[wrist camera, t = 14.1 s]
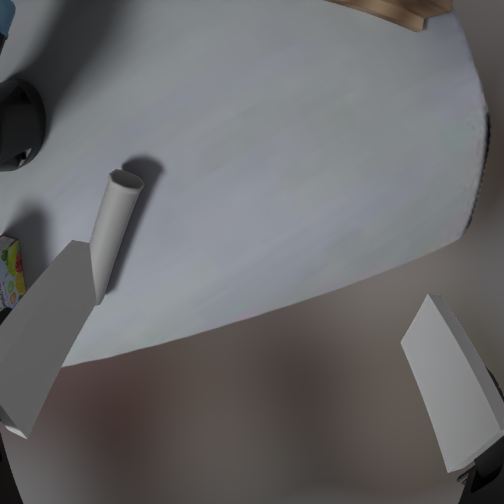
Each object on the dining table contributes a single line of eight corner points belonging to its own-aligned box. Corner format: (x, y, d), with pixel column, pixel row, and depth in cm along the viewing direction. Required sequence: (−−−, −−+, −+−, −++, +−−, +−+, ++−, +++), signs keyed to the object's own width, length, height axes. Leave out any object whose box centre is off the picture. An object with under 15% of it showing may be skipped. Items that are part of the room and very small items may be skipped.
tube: (102, 315, 51) (144, 193, 39) (74, 308, 48) (106, 182, 37) (104, 293, 55) (145, 176, 43) (77, 287, 52) (111, 165, 41)
